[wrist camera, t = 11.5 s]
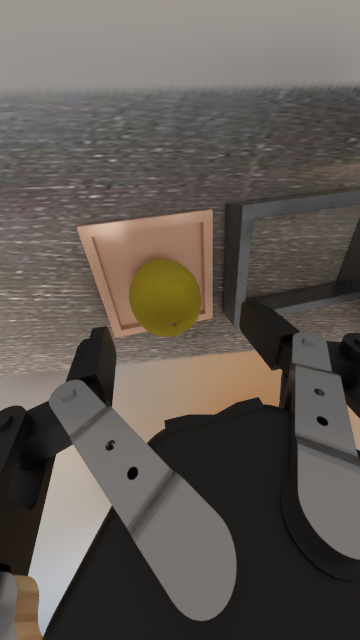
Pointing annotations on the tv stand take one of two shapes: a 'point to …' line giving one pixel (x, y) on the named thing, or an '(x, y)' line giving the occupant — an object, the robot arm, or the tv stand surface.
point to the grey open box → (352, 282)
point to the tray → (147, 258)
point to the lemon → (165, 297)
